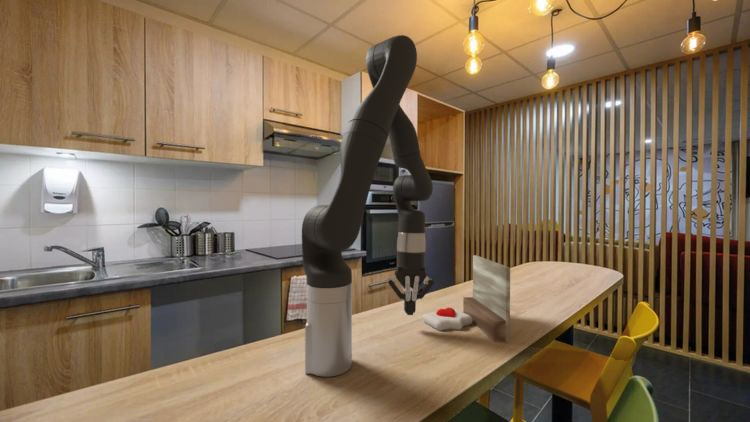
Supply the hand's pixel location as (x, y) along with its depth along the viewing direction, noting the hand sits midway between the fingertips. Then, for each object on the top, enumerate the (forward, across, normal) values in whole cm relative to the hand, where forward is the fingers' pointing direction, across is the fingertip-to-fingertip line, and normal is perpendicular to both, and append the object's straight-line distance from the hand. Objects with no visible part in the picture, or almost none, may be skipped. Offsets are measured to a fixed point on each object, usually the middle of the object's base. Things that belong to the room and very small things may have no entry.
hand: (409, 314), depth 83 cm
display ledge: (+4, +21, +1) cm, 21 cm away
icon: (+4, +12, +3) cm, 13 cm away
